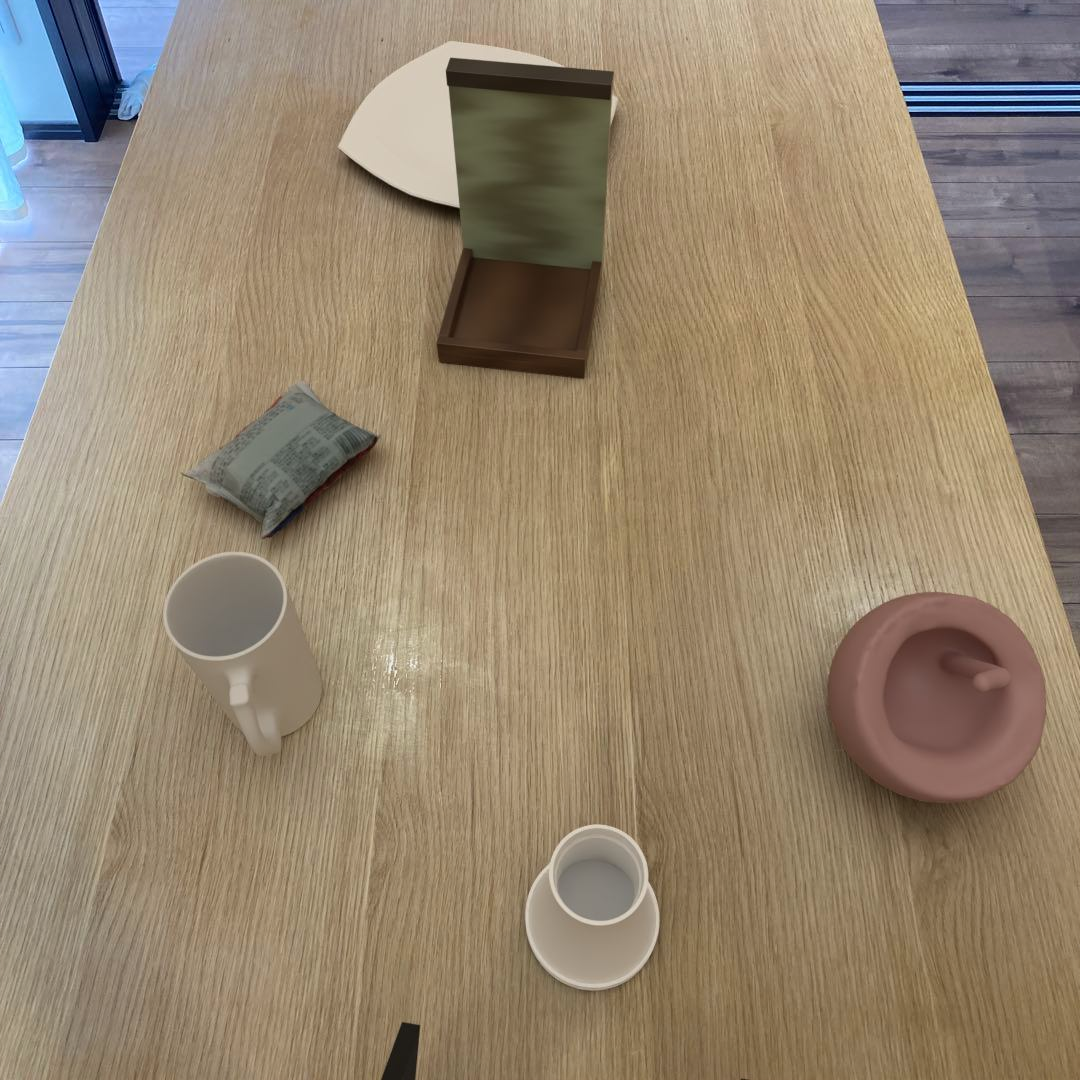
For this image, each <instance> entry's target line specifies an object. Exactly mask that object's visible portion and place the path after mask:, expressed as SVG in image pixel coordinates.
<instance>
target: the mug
mask: <svg viewBox="0 0 1080 1080" xmlns="http://www.w3.org/2000/svg"><path fill="white" fill-rule="evenodd" d="M162 621H163V627H164V630H165V633H166V634H167V637H168V638H169V639H170V641H171V643H172V644H173V645H174V646H175V648H176V649H177V650H178V652H179V654H180V655H181V657H182V659H184V661H185V662H186V663H187V665H188V666H189V668H190V669H191V670H192V671H193V673H194V674H195V675H196V677H197V678H198V680H199V681H200V682H201V683H202V685H203V686H204V687H205V689H206V690H207V691H208V693H209V694H210V695H211V697H212V698H213V700H214V701H215V702H216V704H217V705H218V707H219V708H220V710H221V711H222V712H223V713H224V714H225V715H226V717H227V718H228V719H229V720H230V722H231V723H232V725H233V726H235V728H237V730H239V731H240V732H242V733H243V735H244V737H245V739H246V741H247V744H248V745H249V747H250V748H251V750H252V751H253V752H254V753H255V754H256V755H257V756H259V757H266V756H271V755H276V754H279V753H280V752H281V750H282V739H281V738H282V737H285V736H288V735H290V734H293V733H294V732H296V731H298V730H300V729H301V728H302V727H304V725H305V724H307V723H308V722H309V720H310V719H312V717H313V716H314V714H315V713H316V711H317V709H318V708H319V705H320V702H321V699H322V695H323V694H322V693H323V681H322V677H321V673H320V670H319V667H318V664H317V662H316V658H315V656H314V653H313V651H312V649H311V645H310V643H309V641H308V638H307V635H306V633H305V630H304V627H303V625H302V622H301V619H300V616H299V614H298V611H297V609H296V607H295V604H294V601H293V598H292V596H291V594H290V591H289V589H288V586H287V585H286V582H285V580H284V577H283V576H282V574H281V573H280V571H279V570H278V569H277V567H276V566H274V565H273V564H272V563H271V562H270V561H269V560H267V559H265V558H263V557H262V556H259V555H256V554H254V553H251V552H244V551H223V552H217V553H215V554H212V555H209V556H206V557H204V558H202V559H199V560H198V561H196V562H194V563H193V564H191V565H190V566H188V568H187V569H185V570H184V571H183V572H182V573H181V574H180V575H179V576H178V577H177V578H176V580H175V581H174V582H173V584H172V585H171V586H170V588H169V590H168V592H167V594H166V597H165V600H164V603H163V609H162Z"/></svg>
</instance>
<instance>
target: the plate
mask: <svg viewBox="0 0 1080 1080" xmlns="http://www.w3.org/2000/svg"><path fill="white" fill-rule="evenodd" d="M450 58H462V59H474V60H485V61H497V62H509V63H521V64H532V65H544V66H556V67H565V65H562V64H560V63H558V62H555V61H553V60H551V59H549V58H546V57H543V56H540V55H536V54H532V53H529V52H525V51H522V50H521V51H519V50H516V49H515V50H514V49H509V48H504V47H500V46H492V45H486V44H479V43H473V42H465V41H454V40H449V41H447V42H445V43H443V44H441V45H439V46H437V47H435V48H433V49H432V50H429V51H427V52H425V53H424V54H421V55H420V56H417V57H416V58H414V59H413V60H410V61H408V62H407V63H406V64H404V65H403V66H401V67H400V68H398V69H396V70H394V71H393V72H391V73H390V74H389V75H388V76H386V77H384V79H382V80H381V81H380V82H379V83H378V84H377V85H375V87H374V88H373V89H372V90H371V91H370V92H369V93H368V94H367V95H366V96H365V98H364V99H363V101H362V102H361V104H360V105H358V108H356V110H355V112H354V114H353V116H352V117H351V120H350V122H349V123H348V125H347V127H346V128H345V131H344V133H343V135H342V136H341V139H340V141H339V144H338V145H337V149H338V150H339V151H340V152H342V153H343V154H344V155H346V157H348V158H349V159H350V160H351V161H353V162H354V163H356V165H358V166H360V167H361V168H362V169H364V170H365V171H367V172H368V173H369V174H370V175H372V176H374V177H375V178H377V179H379V180H380V181H382V182H383V183H385V184H387V185H388V186H390V187H392V188H394V189H396V190H398V191H399V192H402V193H404V194H406V195H408V196H410V197H412V198H415V199H420V200H422V201H426V202H429V203H431V204H435V205H440V206H445V207H450V208H453V209H458V210H460V207H459V196H458V185H457V174H456V163H455V152H454V141H453V130H452V119H451V108H450V97H449V86H447V80H446V68H447V65H448V62H449V60H450ZM618 103H619V97H617V96H615V95H614V94H612V109H611V124H612V123H613V121H614V116H615V114H616V110H617V105H618Z"/></svg>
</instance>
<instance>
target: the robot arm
mask: <svg viewBox="0 0 1080 1080" xmlns="http://www.w3.org/2000/svg"><path fill="white" fill-rule="evenodd" d="M420 1030H421V1025H420V1024H416V1023H412V1022H411V1023H410V1022H404V1021H401V1024H400V1026H399V1029H398V1032H397V1034H396V1037H395V1040H394V1042H393V1045H392V1048H391V1051H390V1053H389V1056H388V1059H387V1062H386V1066H385V1067H384V1070H383V1073H382V1074H381V1075H382V1076H381V1078H380V1080H416V1079H417V1078H416V1077H417V1066H418V1056H419V1045H420V1044H419V1043H420V1033H421V1031H420ZM740 1080H749V1079H747V1078H740Z"/></svg>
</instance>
